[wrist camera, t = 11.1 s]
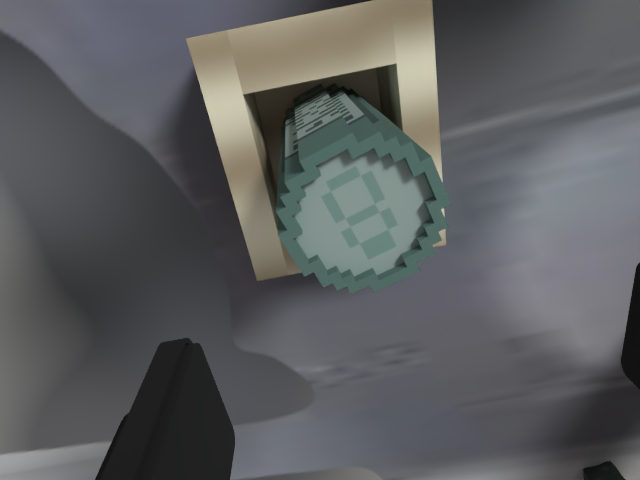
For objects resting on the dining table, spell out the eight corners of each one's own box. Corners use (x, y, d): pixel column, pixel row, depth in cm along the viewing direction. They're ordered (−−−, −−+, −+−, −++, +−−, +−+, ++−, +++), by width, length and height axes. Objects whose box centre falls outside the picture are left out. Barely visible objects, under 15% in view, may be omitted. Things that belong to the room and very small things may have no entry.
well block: (416, 204, 33) (445, 244, 27) (262, 235, 33) (257, 281, 27) (398, -2, 26) (431, -12, 20) (209, 37, 27) (186, 38, 21)
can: (310, 190, 31) (328, 314, 17) (266, 114, 28) (248, 189, 15) (386, 150, 30) (469, 247, 16) (348, 67, 27) (408, 101, 14)
